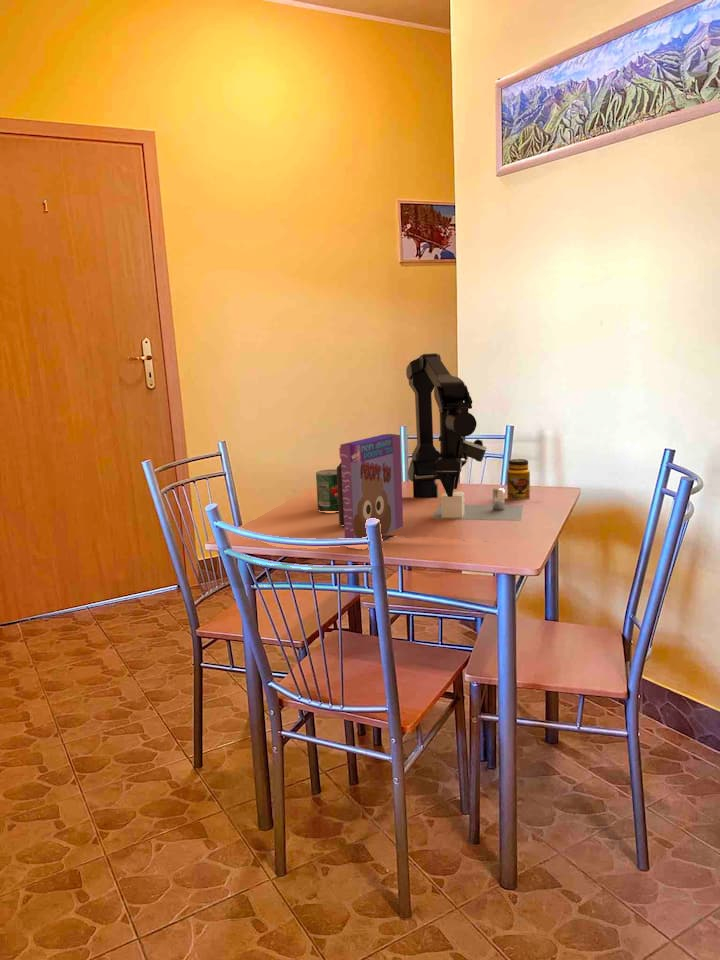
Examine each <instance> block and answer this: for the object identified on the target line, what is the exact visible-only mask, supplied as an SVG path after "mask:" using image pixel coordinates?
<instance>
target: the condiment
mask: <svg viewBox="0 0 720 960" xmlns="http://www.w3.org/2000/svg"><path fill="white" fill-rule="evenodd" d="M506 474H507V475H506V476H507V477H506V478H507V482H506V483H507V486H506V487H507V500H530V497H531V496H530V495H531V494H530V493H531V491H530V490H531V489H530V488H531V485H530V482H531V480H530V479H531V478H530V477H531V476H530V475H531V474H530V469H529V461H528V459H526V458H525V459H524V458H516V459H515V458H514V459H510V460H509V461H508V470H507V473H506ZM536 502H537V501H534V503H536Z"/></svg>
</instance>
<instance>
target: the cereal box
mask: <svg viewBox="0 0 720 960" xmlns="http://www.w3.org/2000/svg"><path fill="white" fill-rule="evenodd" d="M339 446H340V447H339V448H340V449H341V459H340V463H341V469H342V490H343V510H344V527H343V529H344V530H343V531H344V539H345V538H362V537H366V536H367V534H366V528H365V523H366V520H367V519H369V518H376V519H379V520H380V524H381V534H382V539H383V542H386V540H390V539H392V538H393V537H396V536H397V535H395V534H393V535H392V534H389V533H391V532H393V531H395V530H398V529H400V528H402V527H404V517H403V516H404V515H403V511H404V510H403V486H402V485H403V481H402V457H401V454H402V453H401V452H402V451H401V449H402V448H401V435H400V434H396V433H394V434H393V433H386V434H380V435H375V436H371V437H367V438H363V439H358V440H354V441H350V442H345V443H341V444H340V445H339ZM391 537H392V538H391Z"/></svg>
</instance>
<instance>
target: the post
mask: <svg viewBox="0 0 720 960" xmlns="http://www.w3.org/2000/svg"><path fill="white" fill-rule="evenodd" d="M505 499H506V498H505V488H504V487H493V488H492V505H493V510H495V511H503V510H505V505H506V504H505V503H506V502H505Z"/></svg>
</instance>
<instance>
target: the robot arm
mask: <svg viewBox="0 0 720 960" xmlns="http://www.w3.org/2000/svg"><path fill="white" fill-rule="evenodd" d="M405 372H406V378H407V380H408V385H409V387H410V389H411V390H412V392H413V393H414V398H415V399H414V401H415V402H414V403H415V405H414V406H415V424H416V426H415V427H416V446H415V448H414V450H413V451H412V453H411V460H410V462H409V467H408V470H407V478H408V480H409V481H411V482H412V490H413V491H412V492H413V495H412V496H413V498H414V499H415V498H417V499H419V498H421V499H424V498H425V499H438V498H439V483H437V481H438V480H439V481H440V482H441V485H442V486H443V489H444V492H446V493H447V496H448V497H452V496H453V492H455V490H457V489H458V485H459V479H460V475H461V472H462V468H463V466H465V465H466V464H467V462H468V460H469V458H471V459H472V460H475V461H476V462H479V463H481V462H482V461H483V460H484V457H485V454H486V452H487V449H488V448H487V446H485V445H484V444H483V443H484V441H483V440H481V439H479V438H477V439H475V441H470V440H469V441H468V440H467V439H466V437H468V436H469V437H470V435H472V434H473V433H474V432H475V431H476V428H477V425H478V424H477V420H476V418H475V416H474V415H473V414H472V413H471V412H469V409H470V410H471V409H472V408H473V399H472V396H471V394H470V391H469V389H468V387H467V386H468V385H466V384H465V382H464V380H462V379H461V378H460V377H458V376H454V375H452V374H451V373H450V371H449V369H447V367H446V366H445V364H444V363H443V361H442V358H441V355H440V354H438V353H423V354H420V356H419V357H418V358H415V359H414V360H411V361H410V362H409V363H408V364H407V366H406V370H405ZM432 392H433V395H434V397H433V398H434V400H435V402H436V405H437V407H438V412H439V436H438V442H440V443H439V444H440V445H439V448H440V449H439V450H440V451H439V450H437V448H436V447H435V445H434V429H433V425H434V424H433V405H432V403H433V402H432V400H433V398H432ZM463 459H464V460H463Z"/></svg>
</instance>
